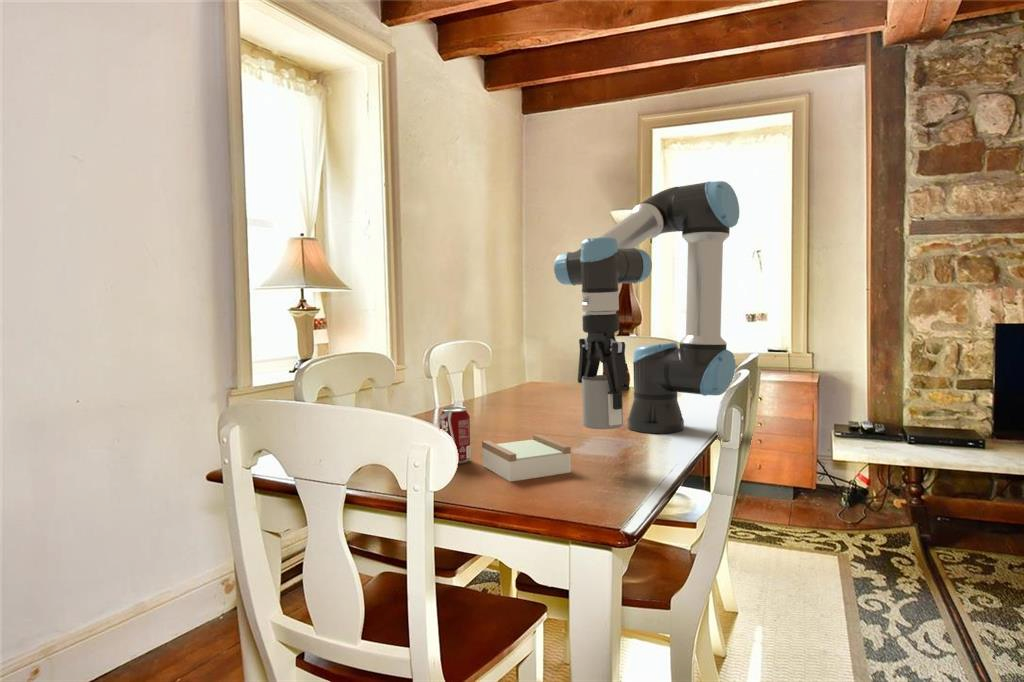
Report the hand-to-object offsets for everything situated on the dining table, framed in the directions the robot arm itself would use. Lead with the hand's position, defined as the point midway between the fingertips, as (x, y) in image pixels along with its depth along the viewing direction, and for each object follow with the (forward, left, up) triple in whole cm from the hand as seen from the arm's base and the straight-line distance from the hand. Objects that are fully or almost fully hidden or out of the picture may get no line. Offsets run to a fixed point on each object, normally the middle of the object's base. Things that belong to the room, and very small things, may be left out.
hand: (603, 420), depth 135 cm
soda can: (+26, -21, -11) cm, 35 cm away
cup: (0, 0, -1) cm, 1 cm away
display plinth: (+15, -8, -10) cm, 19 cm away
